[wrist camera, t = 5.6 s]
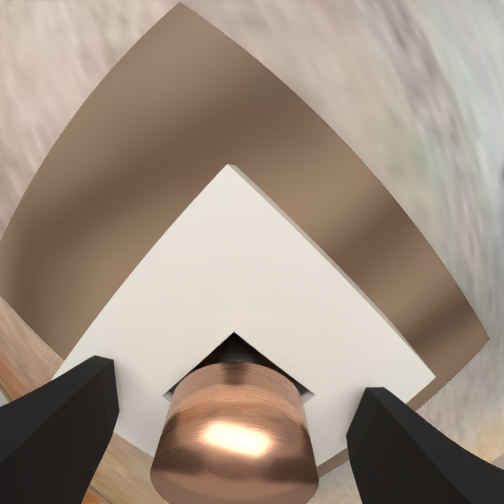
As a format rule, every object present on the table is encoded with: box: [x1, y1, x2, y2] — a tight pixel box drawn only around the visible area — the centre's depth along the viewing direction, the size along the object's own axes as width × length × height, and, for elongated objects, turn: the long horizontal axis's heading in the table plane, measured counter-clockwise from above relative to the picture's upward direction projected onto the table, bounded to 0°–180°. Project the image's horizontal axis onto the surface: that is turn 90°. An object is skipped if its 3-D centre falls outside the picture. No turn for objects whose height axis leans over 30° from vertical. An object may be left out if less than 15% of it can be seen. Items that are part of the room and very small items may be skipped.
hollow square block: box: [51, 164, 435, 467], centre depth 11 cm, size 9×9×5 cm
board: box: [0, 2, 490, 478], centre depth 13 cm, size 22×16×1 cm
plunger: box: [150, 332, 319, 504], centre depth 9 cm, size 4×4×7 cm
